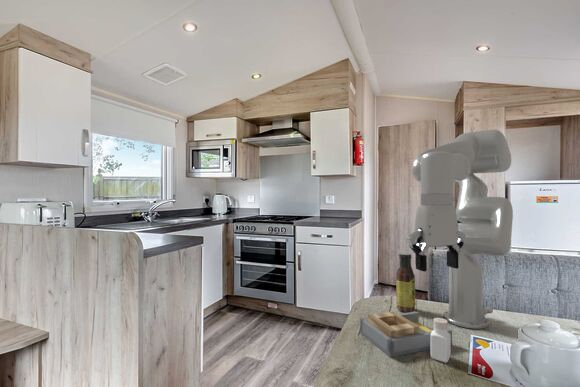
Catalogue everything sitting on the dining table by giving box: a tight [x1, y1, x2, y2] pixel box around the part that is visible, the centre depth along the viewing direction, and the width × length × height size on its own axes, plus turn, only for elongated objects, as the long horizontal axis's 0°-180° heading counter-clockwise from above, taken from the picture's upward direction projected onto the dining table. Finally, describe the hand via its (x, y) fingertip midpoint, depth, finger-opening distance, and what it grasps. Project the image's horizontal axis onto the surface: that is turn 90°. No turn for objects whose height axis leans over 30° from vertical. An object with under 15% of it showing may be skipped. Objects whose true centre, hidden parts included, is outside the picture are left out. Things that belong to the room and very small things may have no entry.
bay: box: [359, 310, 453, 358], centre depth 86 cm, size 20×14×4 cm
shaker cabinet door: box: [367, 311, 419, 339], centre depth 85 cm, size 9×11×4 cm
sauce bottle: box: [395, 252, 416, 313], centre depth 108 cm, size 6×6×20 cm
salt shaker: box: [430, 317, 452, 364], centre depth 76 cm, size 4×4×10 cm
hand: (437, 268), depth 76 cm, fingers open, 9 cm apart
